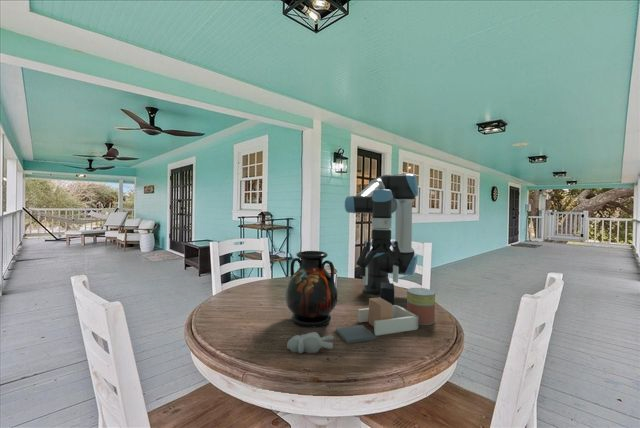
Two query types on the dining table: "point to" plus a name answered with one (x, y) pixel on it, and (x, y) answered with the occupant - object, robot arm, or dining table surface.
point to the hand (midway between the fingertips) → (380, 283)
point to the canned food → (422, 304)
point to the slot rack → (391, 321)
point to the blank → (379, 310)
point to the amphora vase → (311, 290)
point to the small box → (387, 292)
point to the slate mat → (355, 334)
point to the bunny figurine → (309, 343)
